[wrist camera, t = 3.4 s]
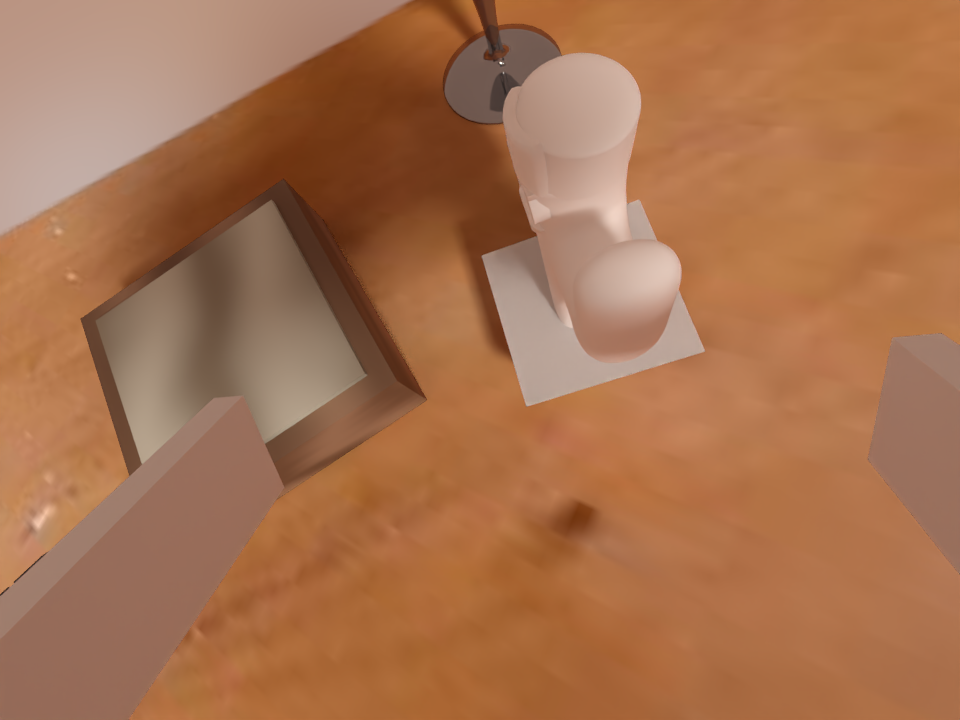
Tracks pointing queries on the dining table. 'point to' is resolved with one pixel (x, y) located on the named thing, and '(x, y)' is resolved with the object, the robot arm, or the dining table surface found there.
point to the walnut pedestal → (252, 341)
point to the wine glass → (494, 65)
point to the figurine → (583, 238)
